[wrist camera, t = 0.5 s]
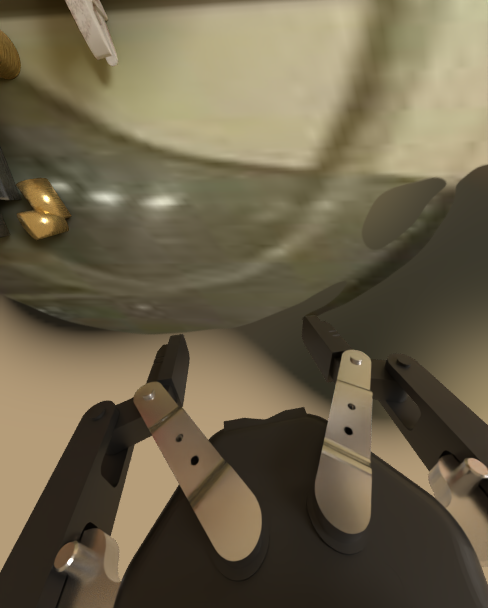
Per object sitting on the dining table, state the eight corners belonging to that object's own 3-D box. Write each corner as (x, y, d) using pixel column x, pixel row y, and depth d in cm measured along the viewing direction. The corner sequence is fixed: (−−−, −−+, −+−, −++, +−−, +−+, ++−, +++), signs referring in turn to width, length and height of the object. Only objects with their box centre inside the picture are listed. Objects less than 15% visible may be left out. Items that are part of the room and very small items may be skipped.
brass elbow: (43, 183, 30) (-6, 190, 26) (50, 176, 28) (-2, 182, 24) (74, 229, 33) (34, 241, 30) (82, 226, 31) (41, 238, 28)
